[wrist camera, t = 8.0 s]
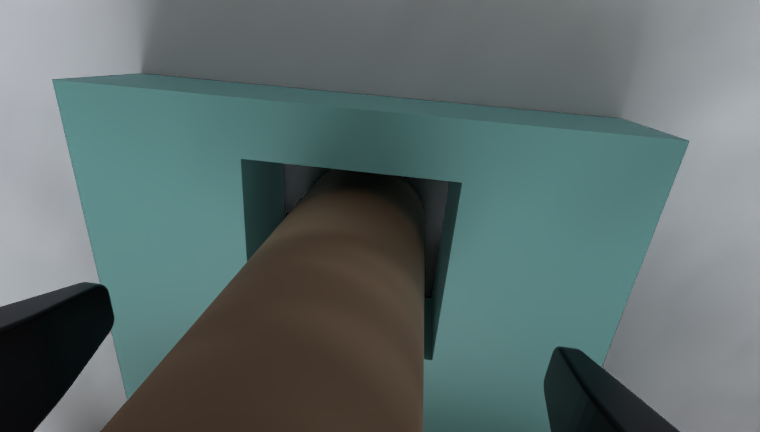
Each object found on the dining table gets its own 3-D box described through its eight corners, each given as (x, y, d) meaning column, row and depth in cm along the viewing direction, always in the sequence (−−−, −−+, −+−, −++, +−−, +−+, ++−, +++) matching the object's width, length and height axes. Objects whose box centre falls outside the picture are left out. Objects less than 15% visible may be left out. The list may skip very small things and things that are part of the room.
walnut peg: (432, 169, 12) (452, 556, 3) (417, 281, 13) (397, 769, 4) (304, 155, 12) (-70, 465, 3) (304, 266, 14) (57, 695, 5)
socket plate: (622, 118, 11) (1041, 257, 3) (500, 507, 17) (553, 838, 10) (139, 73, 12) (-338, 106, 4) (197, 457, 18) (45, 726, 11)
